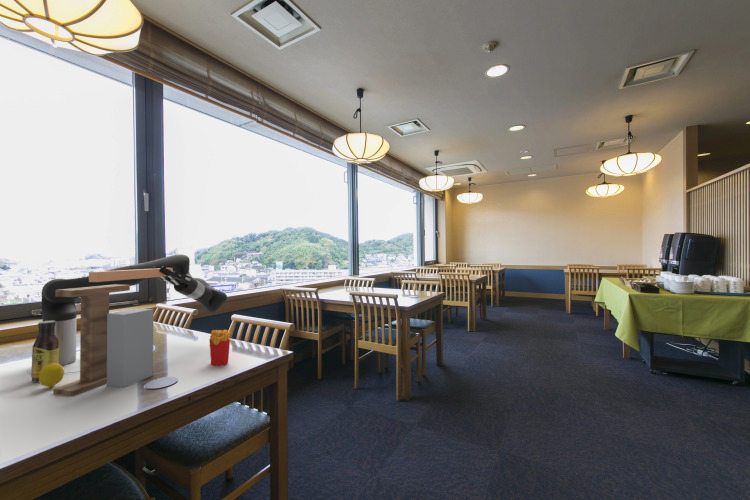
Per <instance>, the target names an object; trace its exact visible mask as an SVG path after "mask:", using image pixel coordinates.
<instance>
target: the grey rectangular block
mask: <svg viewBox="0 0 750 500" xmlns="http://www.w3.org/2000/svg"><path fill="white" fill-rule="evenodd" d="M152 376H154V308H141V307H140V308H133V309H132V308H131V309H126V310H121V311H116V312H109V314H107V383H106V386H107V387H114V388H115V387H117V388H126V387H128V386H131V385H133V384H136V383H139V382H140V381H143V380H146V379H147V378H150V377H152Z"/></svg>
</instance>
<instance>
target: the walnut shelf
mask: <svg viewBox="0 0 750 500" xmlns="http://www.w3.org/2000/svg"><path fill="white" fill-rule="evenodd" d="M130 289H131V286H130V285H118V284H114V285H103V286H93V287H82V288H71V289H61V290H56V292H55V296H57V297H78V296H81V297H80V338H79V339H80V342H79V343H80V347H79V349H80V351H79V352H80V353H79V355H80V357H79V358H80V359H79V379H77V380H75V381H71V382H69V383H65V384H63V385H61V386H57V387H54V388H53V389H52V393H53V394H55V395H60V396H61V395H62V396H67V397H74V396H77V395H79V394H82V393H85V392H87V391H90V390H92V389H95V388H98V387H100V386H104V385H107V314H109V313H110V294H111V293H121V292H126V291H127V292H128V291H130Z"/></svg>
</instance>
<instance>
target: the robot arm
mask: <svg viewBox="0 0 750 500" xmlns="http://www.w3.org/2000/svg"><path fill="white" fill-rule="evenodd" d="M190 260H191V259H190V257H189V256H188V255H185V254H174V255H173V254H171V255H169V256H166V257H161V258H158V259H154V260H151V261H150V260H149V261H145V262H142V263H137V264H136V263H135V264H130V265H125V266H119V267H116V268H112V269H108V270H107V271H117V270H136V269H155V268H160V270H159V271H160V272H161V273H163V274H165V275H166V276H163V277H156V279H157V280H159V282H161V283H165V282H167V283H168V284H170V285H172V286H173V288H174V291H175V292H177V293H179V294H181V295H183V296H185V297H187V298H189V299H192V300H194V301H196V302H198V303H199V304H200V305H201V307H203V309H204V310H205V311H206V312H208V313H211V314H212V313H213V314H214V313H216V312H217V311H218V310H219V309H220V308H221V307H222V306H223V305H224V304H225V303H226V302H227V301H228V296H227V293H225V292H223V291H221V290H219V289H217V288H214V287H213V286H211V285H210V284H209V283H208V282H207V281H206V280H204V279H203V278H200V277H193V276H192V274H191V273H190ZM167 268H173V271H172V270H169V269H167ZM148 279H149V278H139V279H127V280H115V281H103V282H89V275H88V276H83V277H82V276H81V277H76V278H55V279H51V280H49V281H47V282H46V283H45V284H44V285H43V286H42V290H41V315H42V321H56V325H55V335H56V336H57V338H58V339H59V364H60V365H61V366H64V365H69V364H72V363H74V362H75V361H76V360H77V318H78V316H77V313H78V311H77V308H76V300H77V299H79V298H80V299H81V296H78V297H57V296H55V292H56V290H61V289H71V288H82V287H93V286H103V285H114V284H118V285H130V287H133V286H136V285H139V284H142V283H144V282H145V281H146V280H148Z"/></svg>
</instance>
